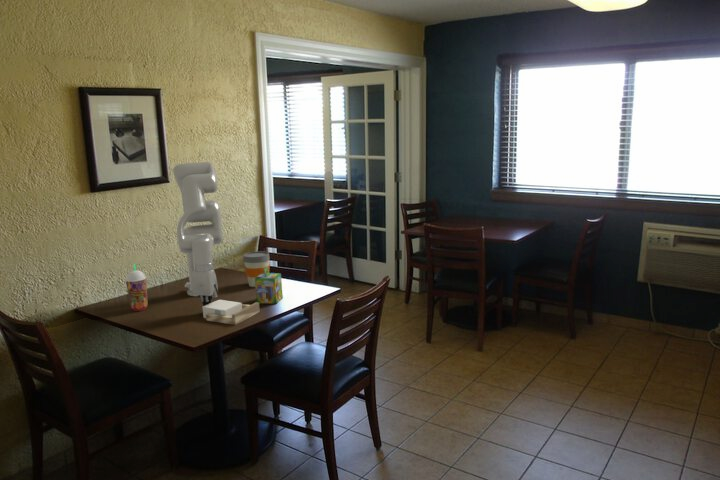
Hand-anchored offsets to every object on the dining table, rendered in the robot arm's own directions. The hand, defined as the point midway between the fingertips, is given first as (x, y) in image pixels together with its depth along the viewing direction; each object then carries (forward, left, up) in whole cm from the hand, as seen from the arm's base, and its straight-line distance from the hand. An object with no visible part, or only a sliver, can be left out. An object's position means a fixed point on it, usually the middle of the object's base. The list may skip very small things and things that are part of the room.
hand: (207, 310), depth 238 cm
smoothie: (-32, -6, -1) cm, 33 cm away
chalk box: (+16, +22, -2) cm, 27 cm away
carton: (+8, -1, -2) cm, 9 cm away
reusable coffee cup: (-4, +42, -1) cm, 42 cm away
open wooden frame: (+13, 0, -1) cm, 13 cm away
